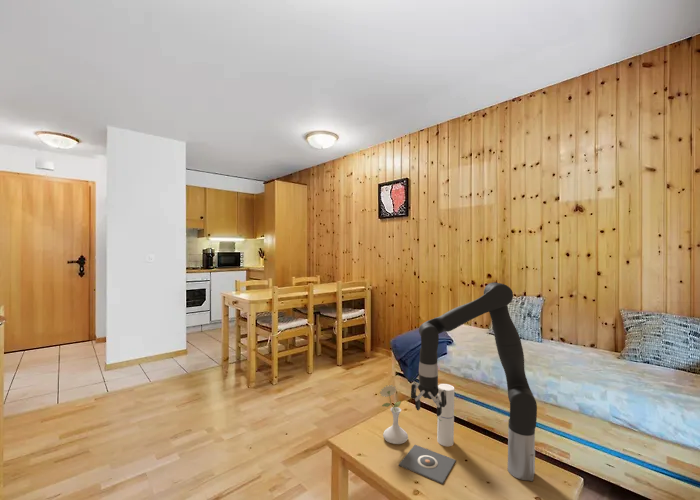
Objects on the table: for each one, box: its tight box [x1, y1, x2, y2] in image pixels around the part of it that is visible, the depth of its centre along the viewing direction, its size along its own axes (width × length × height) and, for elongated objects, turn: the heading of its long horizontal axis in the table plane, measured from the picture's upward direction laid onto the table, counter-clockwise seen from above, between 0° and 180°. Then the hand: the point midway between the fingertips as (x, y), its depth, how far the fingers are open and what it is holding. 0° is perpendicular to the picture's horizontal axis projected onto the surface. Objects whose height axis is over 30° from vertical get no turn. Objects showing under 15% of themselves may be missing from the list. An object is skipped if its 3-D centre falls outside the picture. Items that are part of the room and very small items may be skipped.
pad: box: [398, 444, 457, 485], centre depth 136 cm, size 18×16×1 cm
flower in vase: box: [379, 384, 409, 445], centre depth 152 cm, size 13×11×25 cm
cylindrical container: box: [436, 383, 455, 447], centre depth 151 cm, size 7×7×25 cm
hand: (428, 412), depth 135 cm, fingers open, 8 cm apart
